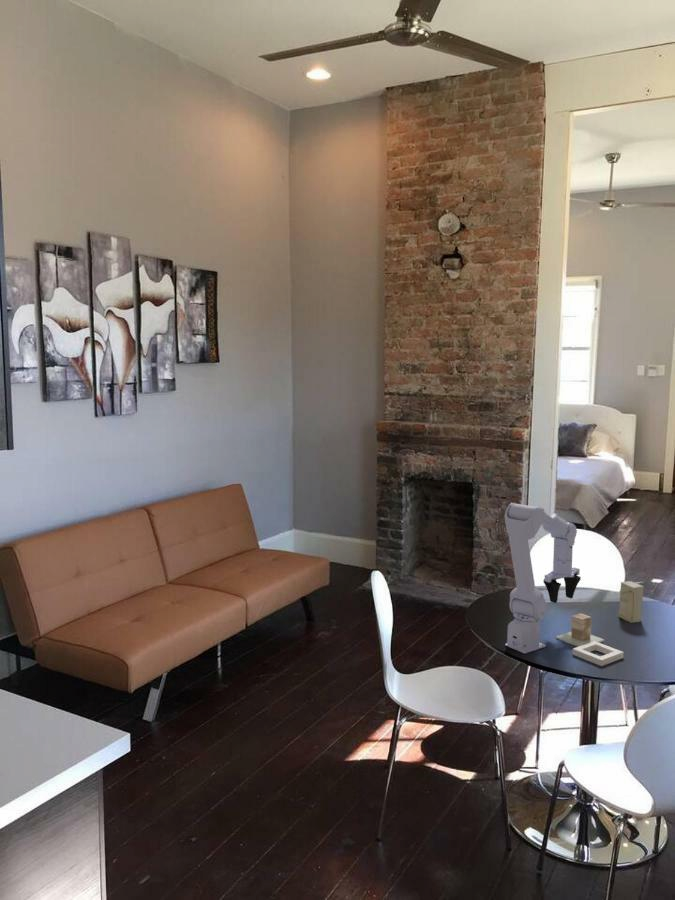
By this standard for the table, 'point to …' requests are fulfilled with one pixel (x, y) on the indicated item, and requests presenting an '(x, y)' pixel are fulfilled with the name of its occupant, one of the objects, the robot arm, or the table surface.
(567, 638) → the tile
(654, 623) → the table surface
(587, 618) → the birch block
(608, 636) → the table surface
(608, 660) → the holder
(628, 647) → the table surface
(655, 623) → the table surface
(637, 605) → the skincare box
